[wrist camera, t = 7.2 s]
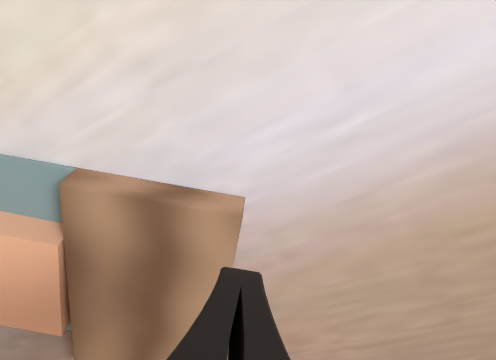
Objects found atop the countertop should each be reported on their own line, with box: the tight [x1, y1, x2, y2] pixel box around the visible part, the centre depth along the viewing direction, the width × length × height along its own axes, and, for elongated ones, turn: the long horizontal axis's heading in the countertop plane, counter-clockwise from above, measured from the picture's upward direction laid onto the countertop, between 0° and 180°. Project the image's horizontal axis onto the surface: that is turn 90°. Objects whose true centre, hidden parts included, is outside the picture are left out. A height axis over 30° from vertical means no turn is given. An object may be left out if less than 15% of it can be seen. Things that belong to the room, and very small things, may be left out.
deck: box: [59, 168, 245, 360], centre depth 25 cm, size 10×16×2 cm, turn 170°
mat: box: [0, 154, 76, 331], centre depth 25 cm, size 8×14×1 cm, turn 170°
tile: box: [0, 211, 71, 337], centre depth 24 cm, size 6×8×2 cm
